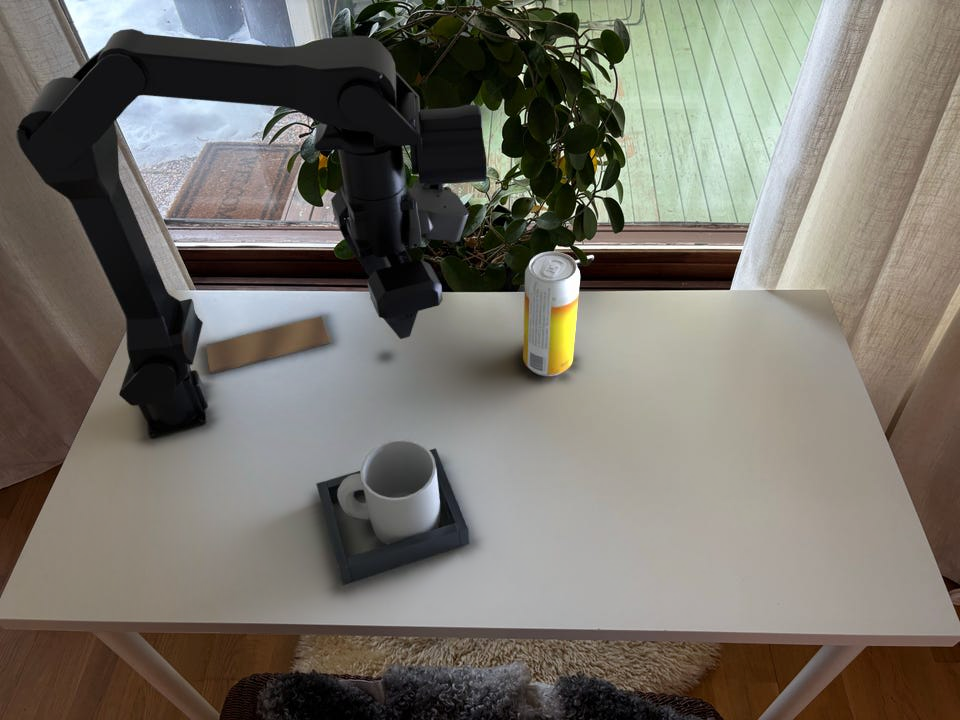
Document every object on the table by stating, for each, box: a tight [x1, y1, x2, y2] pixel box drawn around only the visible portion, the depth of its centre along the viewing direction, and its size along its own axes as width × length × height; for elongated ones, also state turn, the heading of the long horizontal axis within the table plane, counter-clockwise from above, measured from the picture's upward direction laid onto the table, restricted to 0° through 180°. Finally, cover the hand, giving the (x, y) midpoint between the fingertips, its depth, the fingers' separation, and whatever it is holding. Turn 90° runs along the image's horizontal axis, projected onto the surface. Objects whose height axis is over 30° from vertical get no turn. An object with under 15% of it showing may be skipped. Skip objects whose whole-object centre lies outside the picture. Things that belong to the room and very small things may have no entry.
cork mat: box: [205, 315, 331, 375], centre depth 100 cm, size 15×5×1 cm, turn 110°
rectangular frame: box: [316, 448, 470, 586], centre depth 80 cm, size 13×11×3 cm
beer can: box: [522, 251, 581, 377], centre depth 92 cm, size 6×6×15 cm
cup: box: [337, 438, 442, 545], centre depth 78 cm, size 7×10×9 cm
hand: (391, 309), depth 84 cm, fingers open, 9 cm apart
